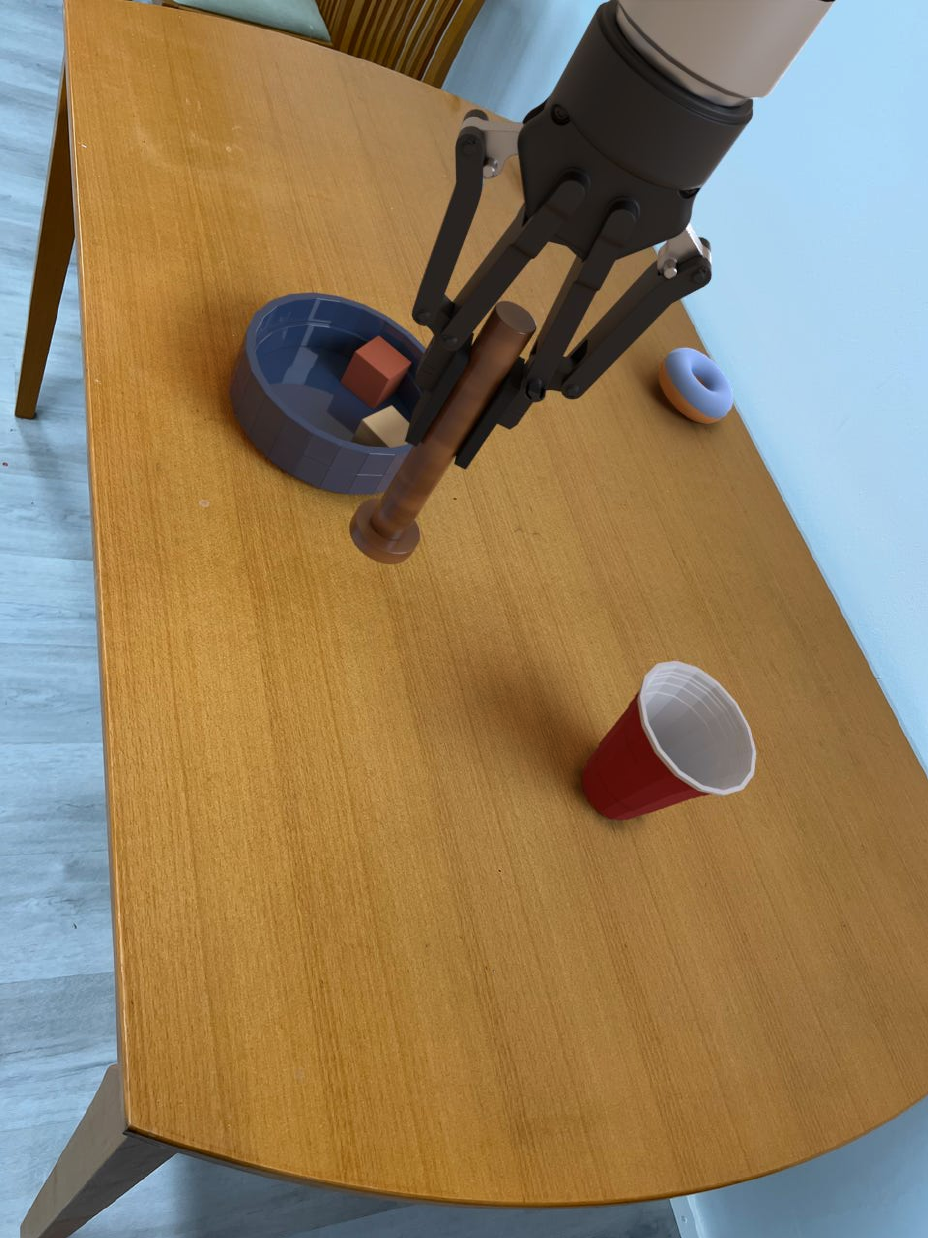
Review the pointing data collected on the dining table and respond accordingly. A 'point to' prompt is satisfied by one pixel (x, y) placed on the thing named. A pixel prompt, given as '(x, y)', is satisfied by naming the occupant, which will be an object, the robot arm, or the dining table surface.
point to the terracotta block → (375, 372)
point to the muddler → (442, 439)
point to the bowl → (318, 390)
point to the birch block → (382, 429)
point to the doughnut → (695, 385)
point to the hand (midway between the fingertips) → (439, 439)
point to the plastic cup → (670, 746)
